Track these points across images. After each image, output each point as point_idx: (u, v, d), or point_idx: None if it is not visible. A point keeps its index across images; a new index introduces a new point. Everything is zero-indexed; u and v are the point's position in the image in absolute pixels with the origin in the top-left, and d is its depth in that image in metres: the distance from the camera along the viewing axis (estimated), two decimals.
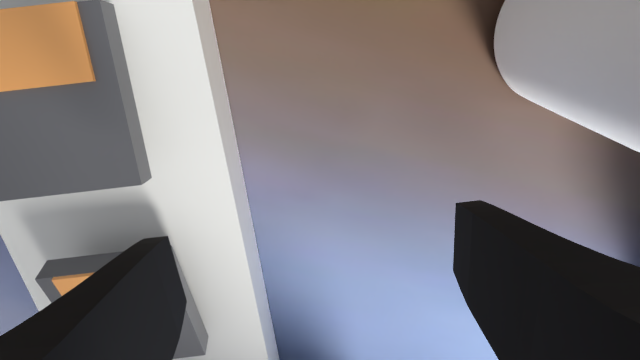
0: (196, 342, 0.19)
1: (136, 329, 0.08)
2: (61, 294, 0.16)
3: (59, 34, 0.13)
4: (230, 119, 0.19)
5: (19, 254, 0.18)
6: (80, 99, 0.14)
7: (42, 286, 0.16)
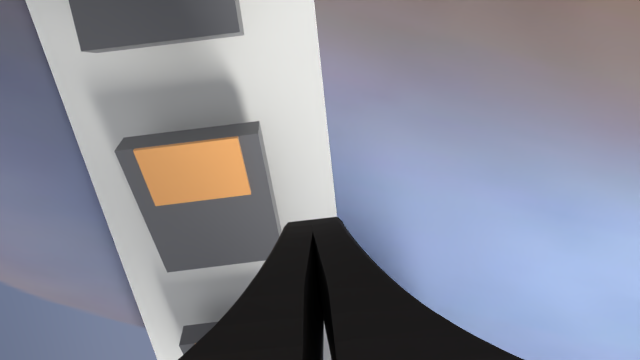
0: (276, 240, 0.17)
1: (314, 308, 0.08)
2: (141, 171, 0.15)
3: None
4: None
5: (87, 142, 0.17)
6: None
7: (120, 161, 0.15)
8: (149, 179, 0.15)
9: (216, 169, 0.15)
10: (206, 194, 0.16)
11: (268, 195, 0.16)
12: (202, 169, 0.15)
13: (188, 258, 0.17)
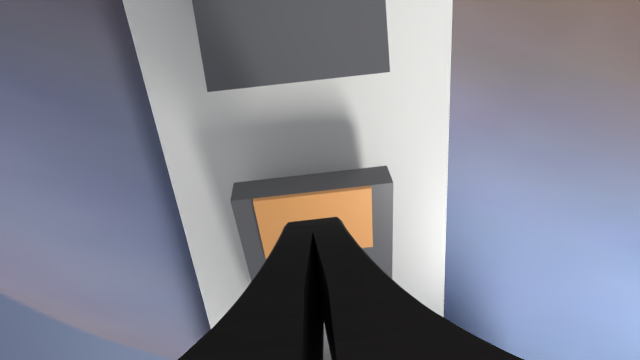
0: None
1: (314, 308, 0.08)
2: (257, 222, 0.13)
3: None
4: None
5: (182, 183, 0.15)
6: None
7: (233, 211, 0.13)
8: (264, 231, 0.13)
9: None
10: None
11: (390, 247, 0.14)
12: None
13: None
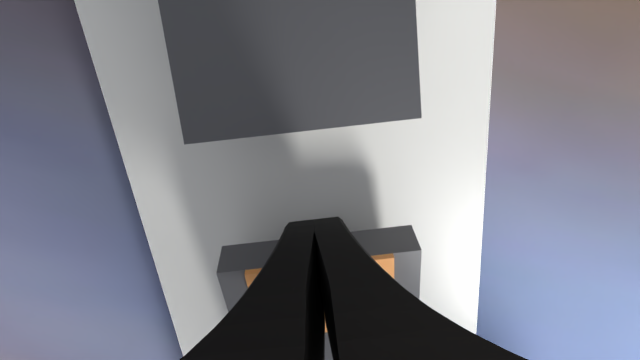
0: None
1: (315, 308, 0.08)
2: None
3: None
4: None
5: (161, 241, 0.12)
6: None
7: (221, 285, 0.10)
8: None
9: None
10: None
11: None
12: None
13: None
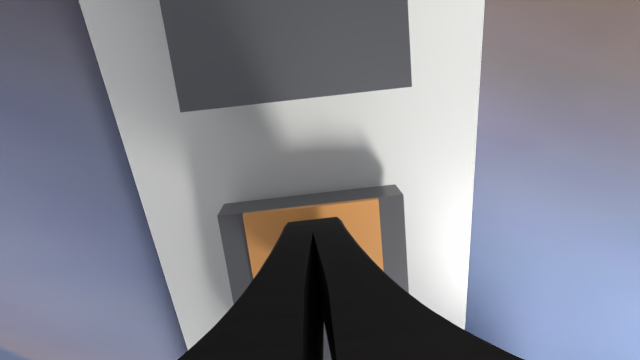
0: None
1: (314, 308, 0.08)
2: (247, 243, 0.11)
3: None
4: None
5: (158, 214, 0.13)
6: None
7: (220, 231, 0.11)
8: (255, 256, 0.11)
9: None
10: None
11: (405, 284, 0.12)
12: None
13: None
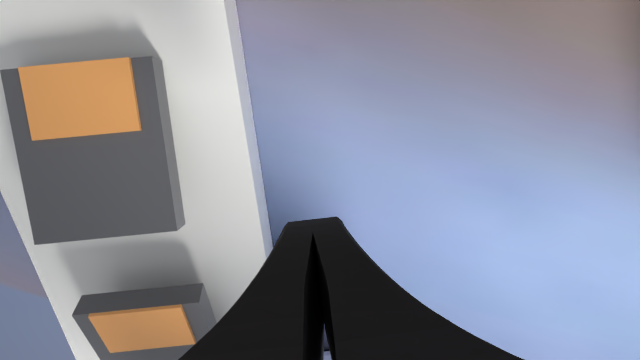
0: (168, 203, 0.15)
1: (314, 308, 0.08)
2: (23, 93, 0.14)
3: None
4: None
5: None
6: None
7: (4, 85, 0.14)
8: (30, 105, 0.14)
9: (103, 95, 0.14)
10: (91, 131, 0.14)
11: (161, 136, 0.14)
12: (88, 95, 0.14)
13: (62, 223, 0.14)
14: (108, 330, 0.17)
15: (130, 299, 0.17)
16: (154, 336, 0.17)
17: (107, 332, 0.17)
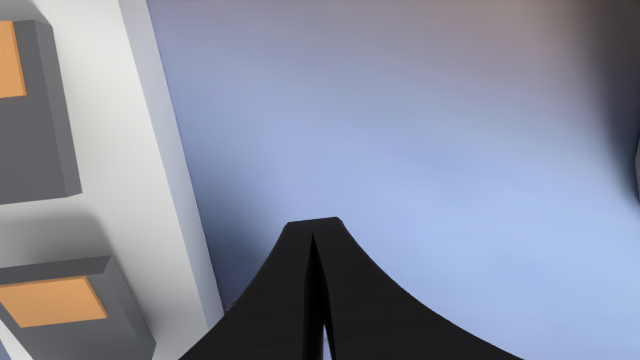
0: (57, 169, 0.14)
1: (314, 309, 0.08)
2: None
3: None
4: None
5: None
6: None
7: None
8: None
9: None
10: None
11: (46, 101, 0.14)
12: None
13: None
14: (14, 303, 0.17)
15: (36, 272, 0.17)
16: (62, 309, 0.17)
17: (13, 305, 0.17)
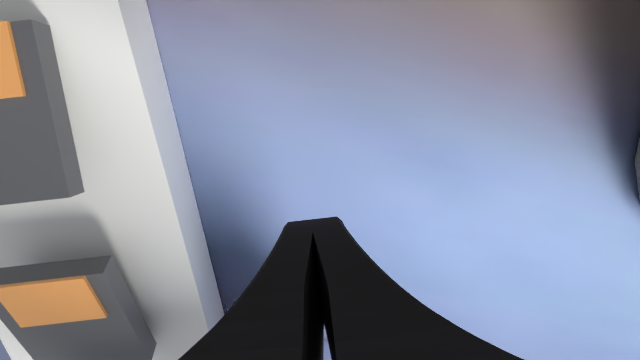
0: (59, 169, 0.14)
1: (314, 309, 0.08)
2: None
3: None
4: None
5: None
6: None
7: None
8: None
9: None
10: None
11: (46, 102, 0.14)
12: None
13: None
14: (14, 303, 0.17)
15: (36, 272, 0.17)
16: (62, 309, 0.17)
17: (13, 305, 0.17)
